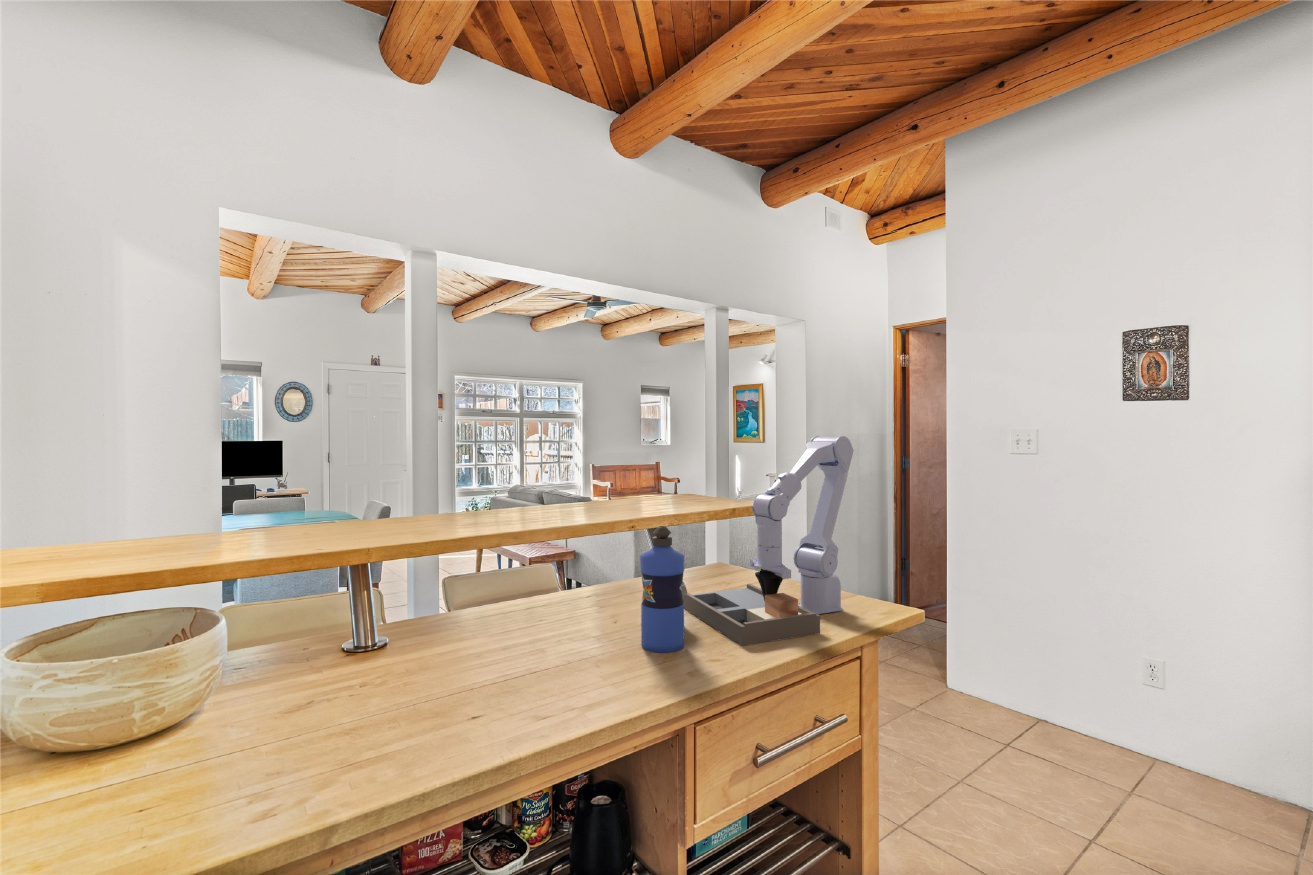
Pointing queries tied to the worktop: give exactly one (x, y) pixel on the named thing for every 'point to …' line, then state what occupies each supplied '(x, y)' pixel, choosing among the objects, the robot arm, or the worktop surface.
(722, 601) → the box
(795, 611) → the block
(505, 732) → the worktop surface
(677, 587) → the water bottle
